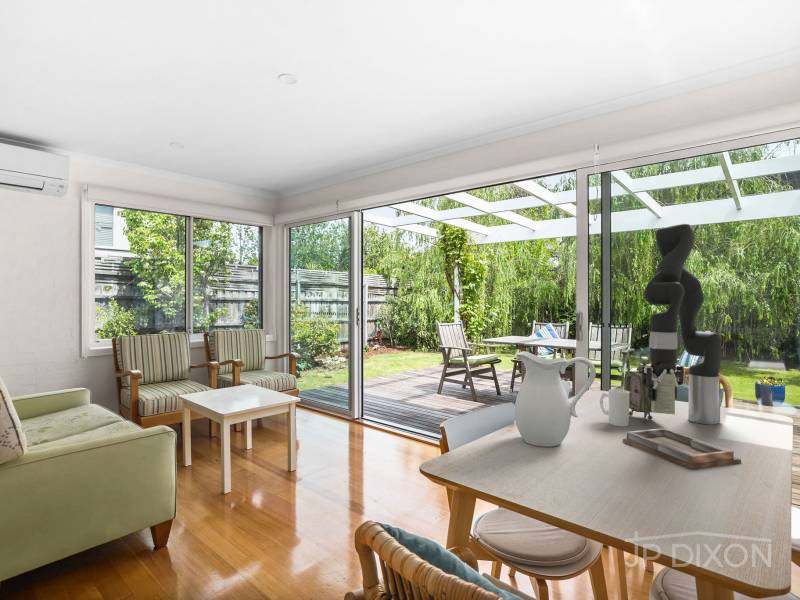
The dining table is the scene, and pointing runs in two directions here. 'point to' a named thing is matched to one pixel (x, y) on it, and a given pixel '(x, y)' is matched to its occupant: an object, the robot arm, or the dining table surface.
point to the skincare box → (664, 395)
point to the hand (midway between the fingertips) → (662, 399)
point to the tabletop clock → (638, 391)
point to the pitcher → (546, 399)
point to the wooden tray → (681, 448)
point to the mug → (617, 407)
